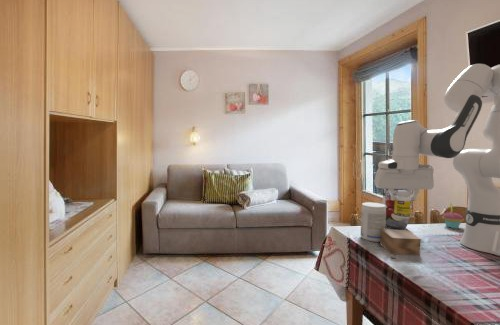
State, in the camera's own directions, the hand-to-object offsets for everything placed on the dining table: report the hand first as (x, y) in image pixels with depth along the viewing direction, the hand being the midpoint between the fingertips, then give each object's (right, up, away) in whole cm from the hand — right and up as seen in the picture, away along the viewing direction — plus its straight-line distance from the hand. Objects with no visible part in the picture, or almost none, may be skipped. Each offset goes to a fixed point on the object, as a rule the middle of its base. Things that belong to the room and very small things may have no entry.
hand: (402, 200), depth 103 cm
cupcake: (+42, -18, +31) cm, 55 cm away
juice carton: (+12, -17, +29) cm, 36 cm away
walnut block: (0, -19, +2) cm, 19 cm away
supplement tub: (-6, -18, +13) cm, 23 cm away
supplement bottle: (0, -6, 0) cm, 6 cm away
